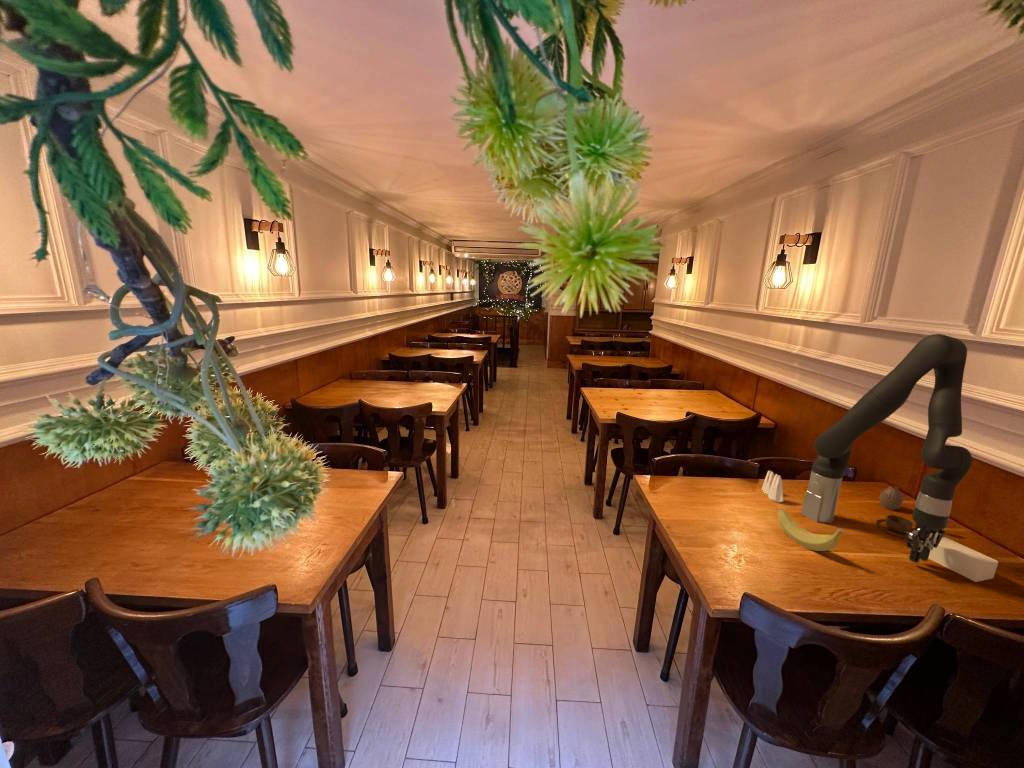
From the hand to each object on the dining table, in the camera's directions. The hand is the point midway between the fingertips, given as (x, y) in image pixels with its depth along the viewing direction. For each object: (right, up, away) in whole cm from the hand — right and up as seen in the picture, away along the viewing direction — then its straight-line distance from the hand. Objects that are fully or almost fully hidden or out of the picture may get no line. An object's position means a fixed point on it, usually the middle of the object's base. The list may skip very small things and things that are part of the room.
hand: (918, 560), depth 133 cm
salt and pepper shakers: (-20, +8, +42) cm, 47 cm away
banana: (-31, +4, +16) cm, 36 cm away
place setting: (+16, +1, +19) cm, 25 cm away
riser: (+12, -3, +1) cm, 13 cm away
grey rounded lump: (+24, +5, +38) cm, 45 cm away
